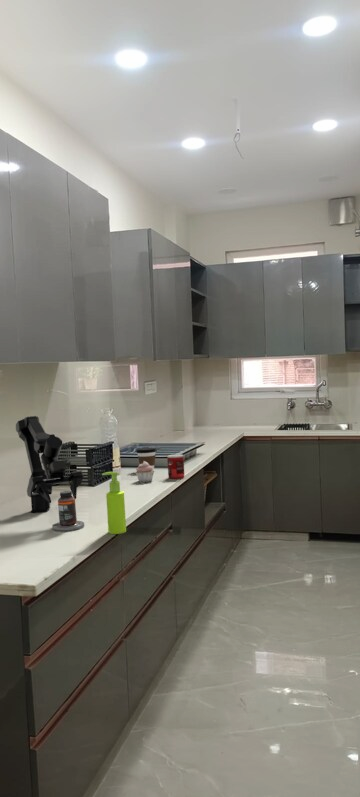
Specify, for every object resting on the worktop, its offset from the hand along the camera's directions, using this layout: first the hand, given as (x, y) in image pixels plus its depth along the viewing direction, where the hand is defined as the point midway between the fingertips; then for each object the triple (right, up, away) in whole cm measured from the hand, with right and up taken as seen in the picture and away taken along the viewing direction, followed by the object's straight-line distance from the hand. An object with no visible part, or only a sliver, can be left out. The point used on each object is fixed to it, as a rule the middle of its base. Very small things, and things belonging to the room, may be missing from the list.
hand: (63, 500), depth 216 cm
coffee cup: (+24, -3, +109) cm, 112 cm away
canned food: (+40, -3, +85) cm, 94 cm away
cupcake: (+24, -4, +79) cm, 83 cm away
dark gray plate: (+2, -9, -3) cm, 10 cm away
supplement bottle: (+2, -8, -3) cm, 9 cm away
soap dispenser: (+20, -9, -12) cm, 25 cm away
